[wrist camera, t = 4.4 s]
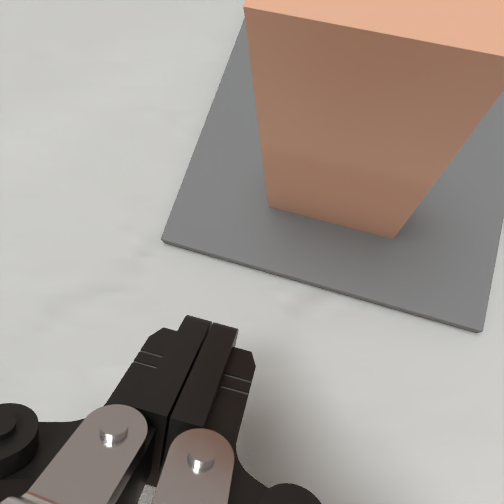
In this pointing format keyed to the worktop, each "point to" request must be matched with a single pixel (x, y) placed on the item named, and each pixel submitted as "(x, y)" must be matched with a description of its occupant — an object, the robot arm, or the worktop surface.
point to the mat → (340, 237)
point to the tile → (368, 100)
